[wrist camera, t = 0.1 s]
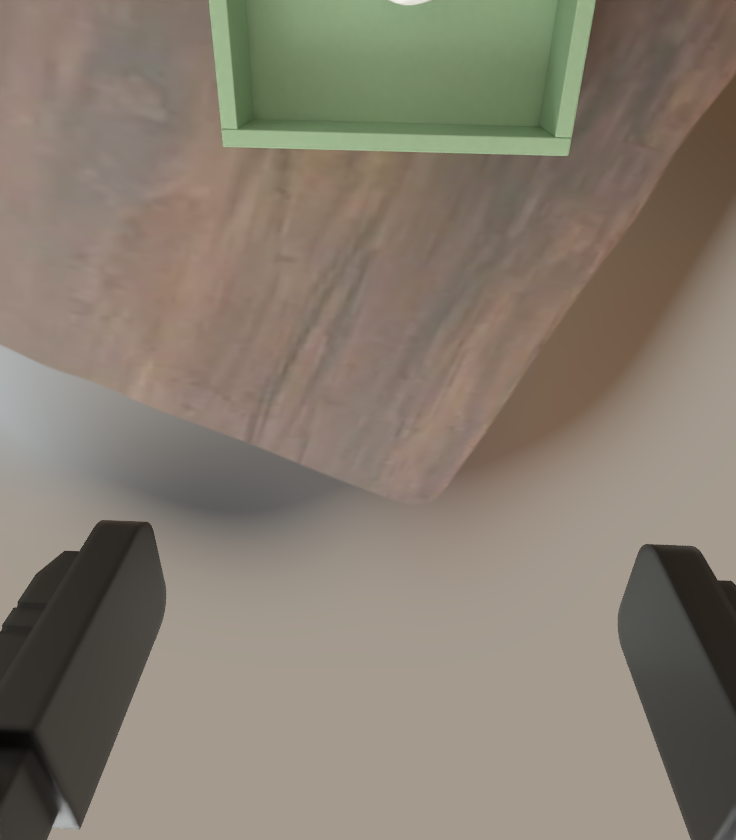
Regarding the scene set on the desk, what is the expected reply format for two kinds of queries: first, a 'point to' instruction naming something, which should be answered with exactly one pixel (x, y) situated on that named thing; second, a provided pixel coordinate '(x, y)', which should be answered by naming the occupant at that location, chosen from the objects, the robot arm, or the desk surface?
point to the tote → (401, 74)
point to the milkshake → (409, 2)
